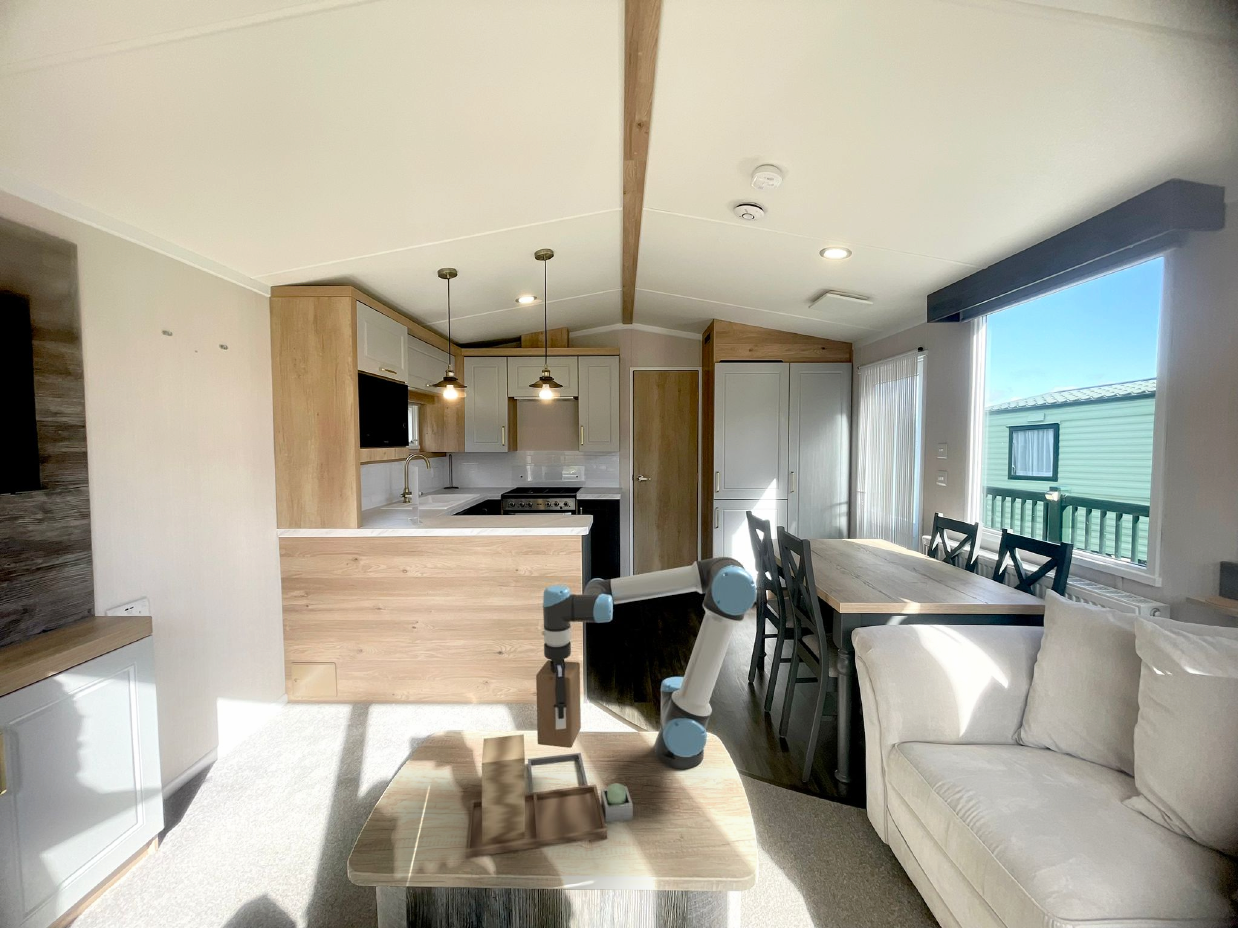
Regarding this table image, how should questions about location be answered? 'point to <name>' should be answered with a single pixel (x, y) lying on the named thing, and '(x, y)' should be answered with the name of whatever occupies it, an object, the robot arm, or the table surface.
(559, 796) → the divided wooden tray
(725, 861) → the table surface
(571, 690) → the wooden block
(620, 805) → the button housing
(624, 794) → the button
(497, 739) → the seated billet
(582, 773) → the tote frame
